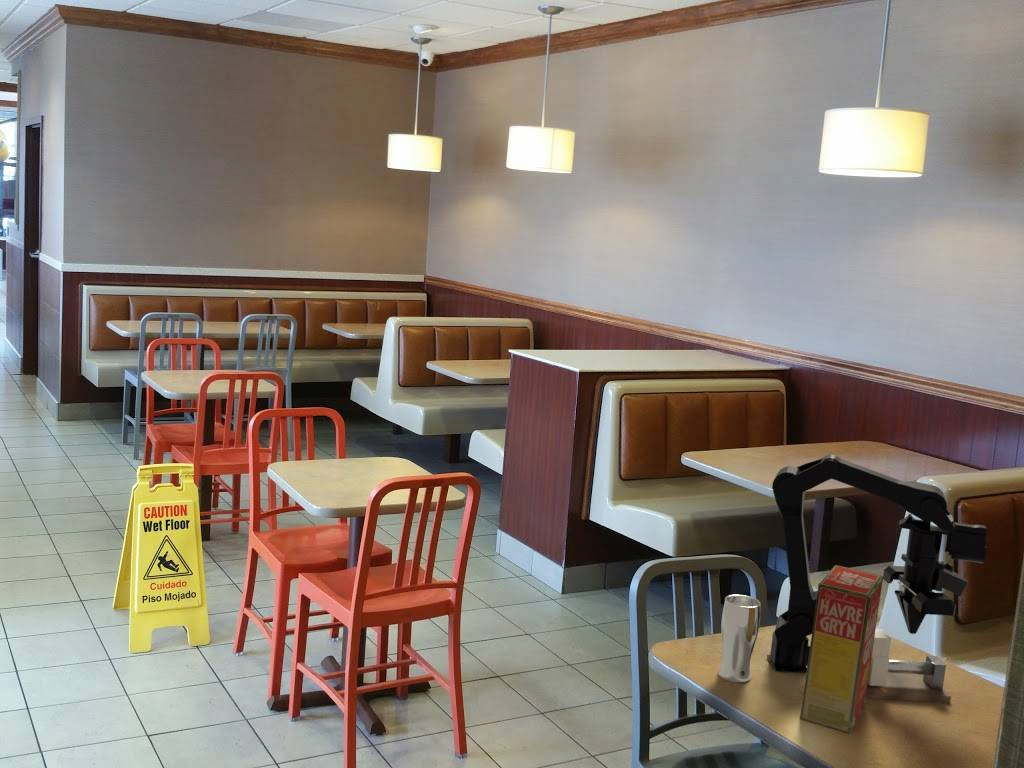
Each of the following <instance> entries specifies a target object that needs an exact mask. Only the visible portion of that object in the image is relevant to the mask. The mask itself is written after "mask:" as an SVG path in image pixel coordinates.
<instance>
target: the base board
mask: <svg viewBox="0 0 1024 768" xmlns="http://www.w3.org/2000/svg"><path fill="white" fill-rule="evenodd" d="M923 677H924V675H920V674H902V673H888V674H887V682H886V686H870V685H869V684H868V686H867V693H866V699H879V700H897V701H898V700H899V701H915V702H916V701H917V702H931V703H932V702H936V703H951V699H952V696H951V695H950V694H949V693H948V691H946V690H945V688H943V690H932V689H931V688H930V687H929V686H928V685H927V684H926V683H925V682H924V681H923Z"/></svg>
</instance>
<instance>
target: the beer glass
mask: <svg viewBox="0 0 1024 768" xmlns="http://www.w3.org/2000/svg"><path fill="white" fill-rule="evenodd" d="M760 621H761V602H760V600H758V599H757V598H755V597H752V596H750V595H749V596H748V595H745V594H729V595H727V596H725V597H724V605H723V609H722V615H721V623H720V624H721V625H720V626H721V627H720V628H721V633H720V634H721V647H722V655H721V656H722V657H721V660H720V661H721V662H720V665H719V668H718V673H717V674H718V675H719V677H720V676H721V677H720V678H722V679H723V680H725V681H728V682H731V683H737V682H740V684H741V682H743V683H747V682H749V681H751V678H752V673H751V659H752V655H753V652H754V648H755V644H756V642H757V639H758V634H759V629H760Z"/></svg>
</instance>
